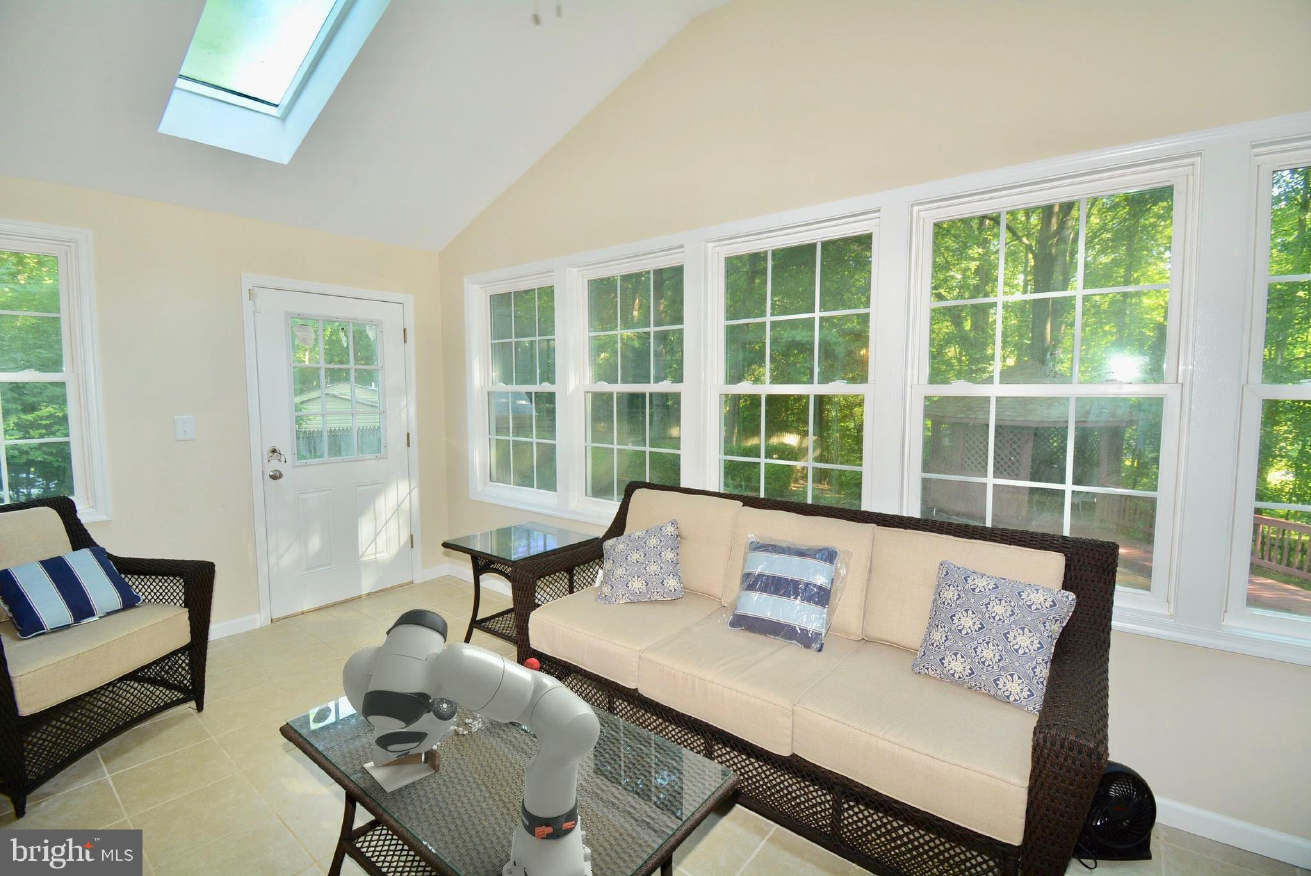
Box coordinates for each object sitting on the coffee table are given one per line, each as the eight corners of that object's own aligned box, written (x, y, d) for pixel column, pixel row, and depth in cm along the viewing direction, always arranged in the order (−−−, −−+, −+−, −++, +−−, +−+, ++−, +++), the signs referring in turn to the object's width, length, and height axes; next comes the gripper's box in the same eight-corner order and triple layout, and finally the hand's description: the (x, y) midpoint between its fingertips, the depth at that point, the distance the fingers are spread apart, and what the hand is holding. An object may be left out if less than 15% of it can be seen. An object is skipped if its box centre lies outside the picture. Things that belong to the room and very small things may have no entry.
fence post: (441, 770, 158) (441, 753, 157) (434, 773, 156) (434, 756, 156) (429, 759, 162) (430, 743, 162) (422, 762, 160) (423, 746, 160)
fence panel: (421, 762, 159) (423, 735, 159) (374, 766, 156) (376, 739, 156) (422, 759, 161) (423, 732, 160) (376, 763, 158) (377, 735, 157)
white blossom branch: (403, 748, 165) (404, 743, 165) (476, 715, 186) (477, 711, 186) (418, 758, 161) (418, 753, 161) (491, 723, 182) (491, 719, 182)
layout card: (440, 769, 158) (440, 767, 158) (387, 792, 147) (387, 790, 147) (413, 746, 168) (414, 744, 168) (363, 766, 157) (363, 764, 157)
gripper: (456, 706, 159) (438, 727, 166) (378, 734, 144) (363, 756, 151) (464, 728, 156) (446, 749, 163) (386, 760, 141) (369, 781, 148)
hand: (405, 752), depth 157 cm, fingers closed
